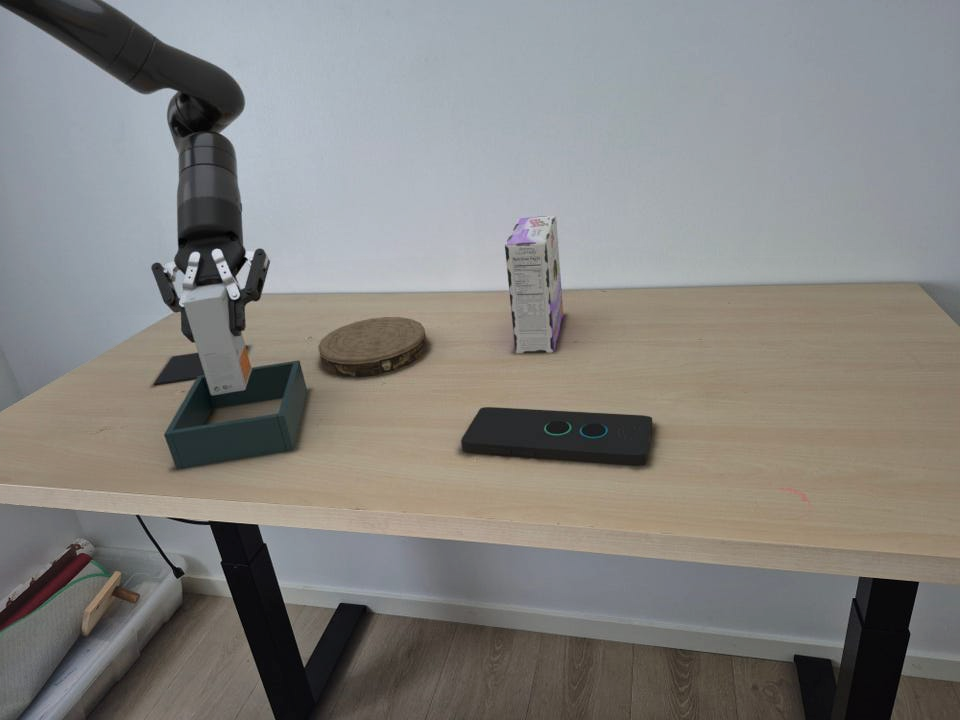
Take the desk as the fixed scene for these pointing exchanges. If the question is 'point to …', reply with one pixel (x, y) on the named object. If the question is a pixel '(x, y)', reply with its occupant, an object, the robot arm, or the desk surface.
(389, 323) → the brown flat disc
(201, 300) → the cosmetic box
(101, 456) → the desk surface
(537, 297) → the candy box
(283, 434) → the storage box
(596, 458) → the smart home device
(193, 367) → the desk pad
